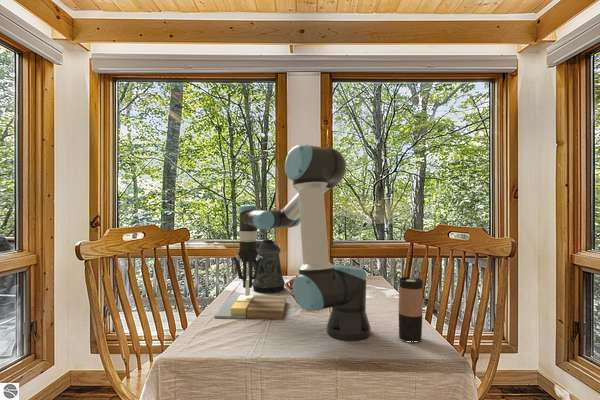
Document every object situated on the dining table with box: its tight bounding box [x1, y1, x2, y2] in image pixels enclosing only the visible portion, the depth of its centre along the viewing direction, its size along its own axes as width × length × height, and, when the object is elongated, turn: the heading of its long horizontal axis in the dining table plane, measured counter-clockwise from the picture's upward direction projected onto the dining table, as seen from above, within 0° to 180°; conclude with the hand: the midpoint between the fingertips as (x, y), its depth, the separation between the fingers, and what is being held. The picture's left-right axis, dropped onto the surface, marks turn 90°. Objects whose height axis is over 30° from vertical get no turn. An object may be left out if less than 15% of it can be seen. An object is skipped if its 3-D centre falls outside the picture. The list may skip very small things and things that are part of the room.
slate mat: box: [214, 298, 247, 320], centre depth 158 cm, size 24×12×1 cm, turn 178°
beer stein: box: [252, 239, 286, 294], centre depth 192 cm, size 16×19×25 cm
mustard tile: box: [231, 302, 250, 315], centre depth 152 cm, size 9×6×2 cm, turn 178°
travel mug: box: [398, 276, 424, 342], centre depth 126 cm, size 8×8×20 cm
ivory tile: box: [236, 294, 255, 304], centre depth 163 cm, size 9×6×2 cm, turn 178°
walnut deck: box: [246, 294, 287, 319], centre depth 157 cm, size 22×14×3 cm, turn 178°
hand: (247, 295), depth 163 cm, fingers closed
